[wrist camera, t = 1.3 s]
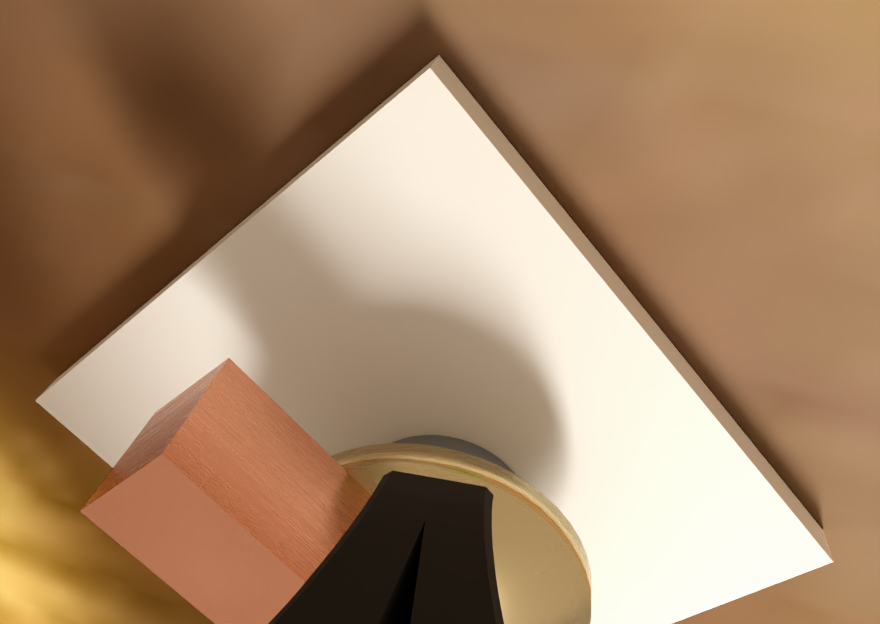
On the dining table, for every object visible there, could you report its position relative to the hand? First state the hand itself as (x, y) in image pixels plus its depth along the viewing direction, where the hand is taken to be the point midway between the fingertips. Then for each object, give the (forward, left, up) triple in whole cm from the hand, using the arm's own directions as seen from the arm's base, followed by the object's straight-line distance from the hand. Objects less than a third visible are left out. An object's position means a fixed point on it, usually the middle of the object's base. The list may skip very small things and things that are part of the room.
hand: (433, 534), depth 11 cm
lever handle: (-5, -3, -6) cm, 8 cm away
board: (-6, -4, -9) cm, 11 cm away
